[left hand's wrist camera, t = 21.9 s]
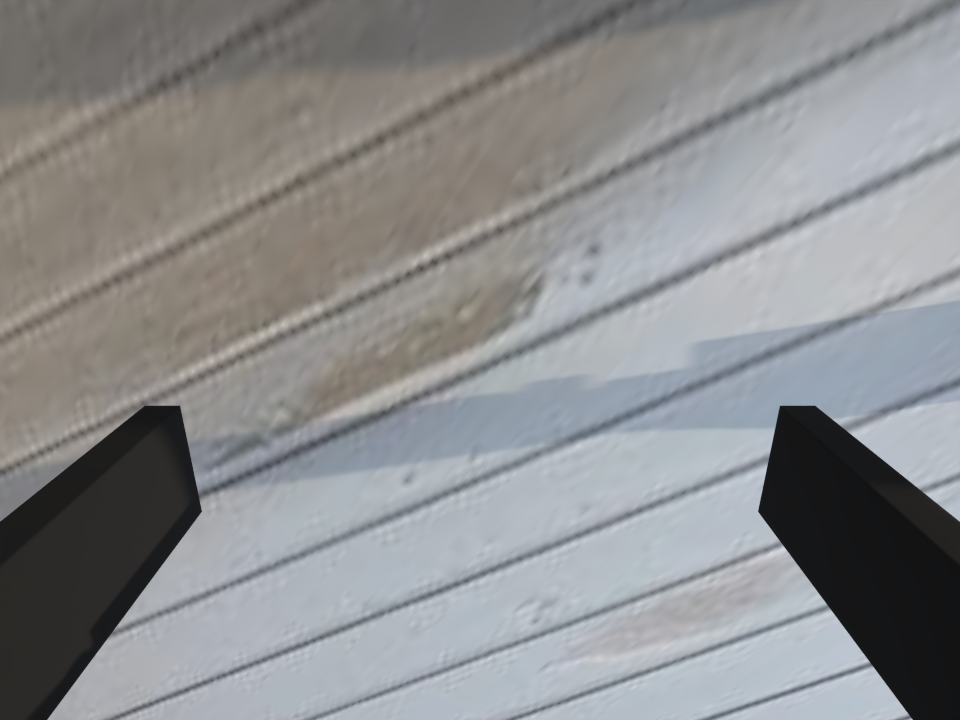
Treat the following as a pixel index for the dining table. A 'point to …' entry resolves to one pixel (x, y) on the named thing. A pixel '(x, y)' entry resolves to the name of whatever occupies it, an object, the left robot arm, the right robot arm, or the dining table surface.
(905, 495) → the left robot arm
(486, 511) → the dining table surface
